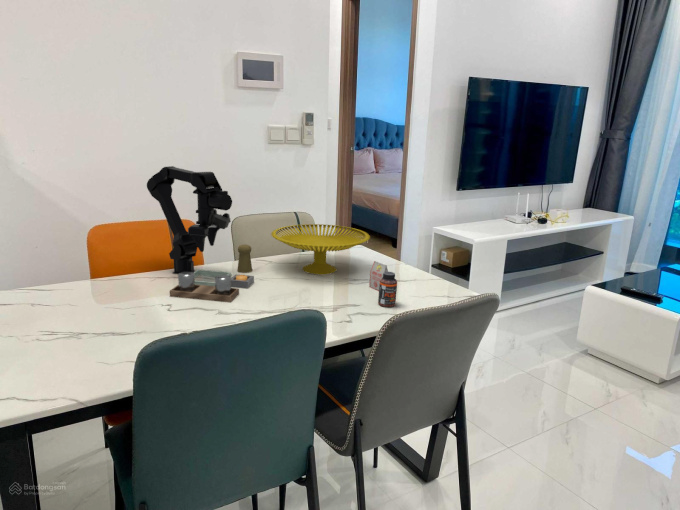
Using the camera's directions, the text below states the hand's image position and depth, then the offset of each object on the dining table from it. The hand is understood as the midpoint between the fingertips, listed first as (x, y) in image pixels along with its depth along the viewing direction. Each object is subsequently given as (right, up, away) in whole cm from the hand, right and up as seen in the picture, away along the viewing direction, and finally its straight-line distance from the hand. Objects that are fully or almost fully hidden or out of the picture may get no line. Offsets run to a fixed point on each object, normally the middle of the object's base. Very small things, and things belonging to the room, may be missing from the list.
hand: (207, 248), depth 190 cm
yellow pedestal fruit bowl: (+41, -8, +22) cm, 47 cm away
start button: (+14, -13, -4) cm, 19 cm away
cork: (+11, -9, +14) cm, 20 cm away
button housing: (+13, -14, -4) cm, 20 cm away
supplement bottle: (+65, -19, -15) cm, 70 cm away
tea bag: (+64, -15, +1) cm, 65 cm away
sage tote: (+1, -13, -2) cm, 13 cm away
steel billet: (-3, -15, -15) cm, 22 cm away
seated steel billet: (+10, -16, -17) cm, 26 cm away
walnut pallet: (+3, -17, -16) cm, 24 cm away
